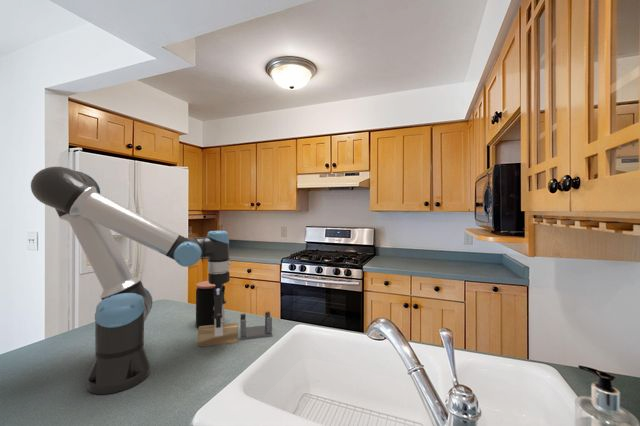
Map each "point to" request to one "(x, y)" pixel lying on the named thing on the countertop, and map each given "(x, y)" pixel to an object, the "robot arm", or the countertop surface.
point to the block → (208, 336)
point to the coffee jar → (204, 303)
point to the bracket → (255, 328)
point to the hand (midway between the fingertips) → (220, 327)
